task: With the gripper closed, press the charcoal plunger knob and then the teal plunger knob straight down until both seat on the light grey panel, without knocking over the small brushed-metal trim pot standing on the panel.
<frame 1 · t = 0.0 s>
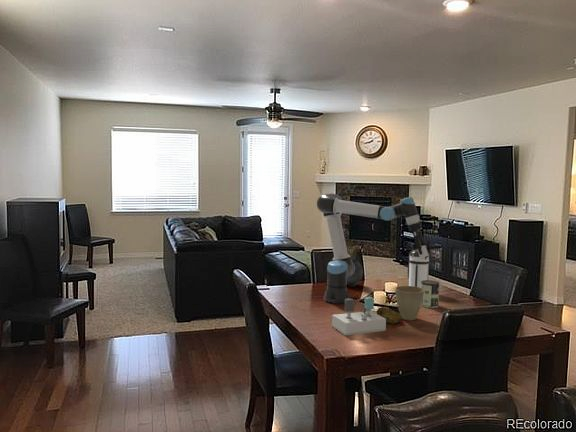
hand: (424, 258, 280), 28 cm above the table, tool tilted 20°, fingers open, 13 cm apart
knob teal: (368, 307, 237), point 10 cm above the table, slide at 4.0 cm
coffee press: (416, 291, 316), on the table
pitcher: (348, 285, 332), on the table
potato: (389, 323, 247), on the table
trim pot: (364, 319, 231), point 6 cm above the table, touching panel
knob charcoal: (349, 309, 233), point 10 cm above the table, slide at 4.0 cm
plant pot: (408, 318, 255), on the table
coffee can: (429, 306, 281), on the table
panel: (358, 328, 236), on the table
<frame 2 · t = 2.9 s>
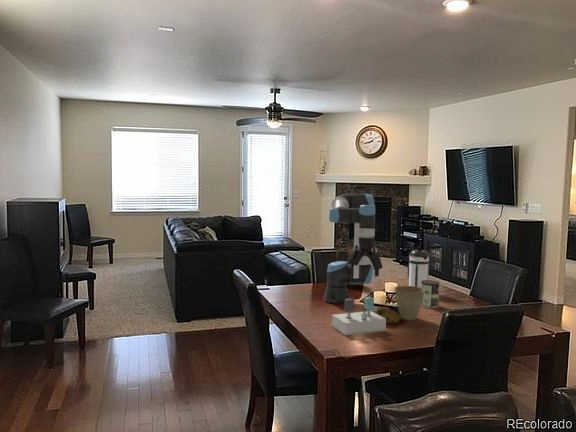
hand: (365, 280, 233), 24 cm above the table, tool pointing down, fingers open, 13 cm apart
nothing on the table moved.
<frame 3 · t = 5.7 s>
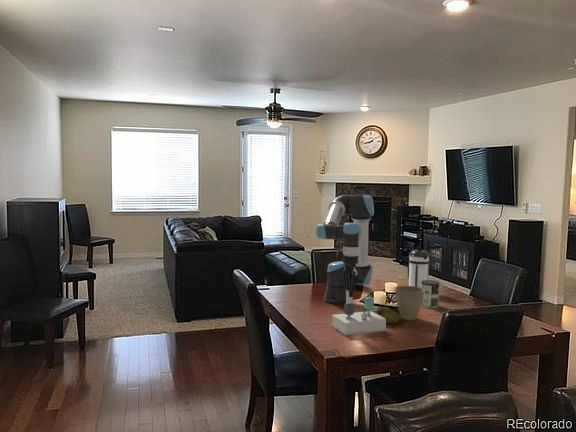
hand: (349, 303, 233), 13 cm above the table, tool pointing down, fingers closed
knob charcoal: (349, 313, 234), point 8 cm above the table, slide at 2.0 cm, touching gripper
everything else where it was.
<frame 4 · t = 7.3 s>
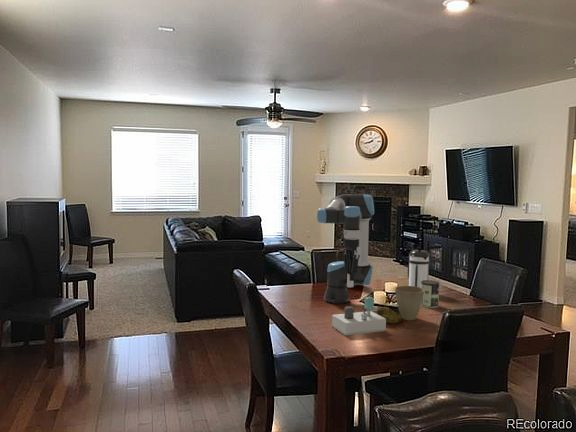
hand: (350, 286, 233), 21 cm above the table, tool pointing down, fingers closed
knob charcoal: (348, 317, 234), point 6 cm above the table, slide at 0.0 cm, touching panel
everything else where it was.
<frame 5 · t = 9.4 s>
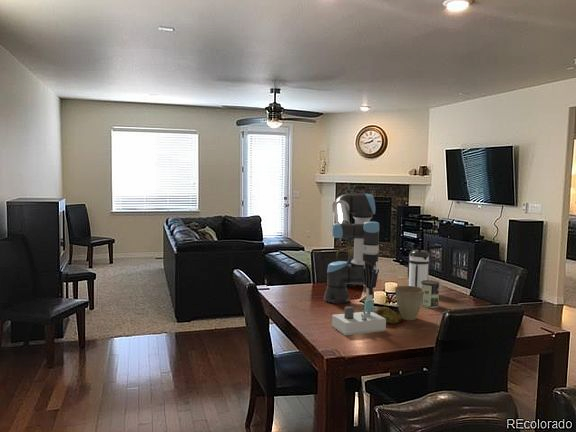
hand: (369, 300, 237), 14 cm above the table, tool pointing down, fingers closed
knob teal: (368, 311, 238), point 8 cm above the table, slide at 2.4 cm, touching gripper
everything else where it was.
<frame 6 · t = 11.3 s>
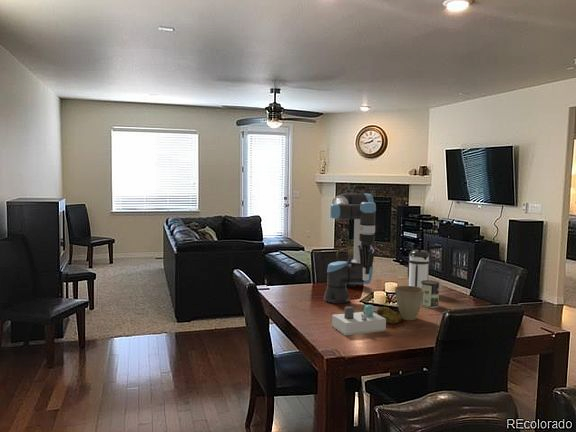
hand: (365, 280, 241), 23 cm above the table, tool pointing down, fingers closed
knob teal: (368, 315, 238), point 6 cm above the table, slide at 0.0 cm, touching panel
everything else where it was.
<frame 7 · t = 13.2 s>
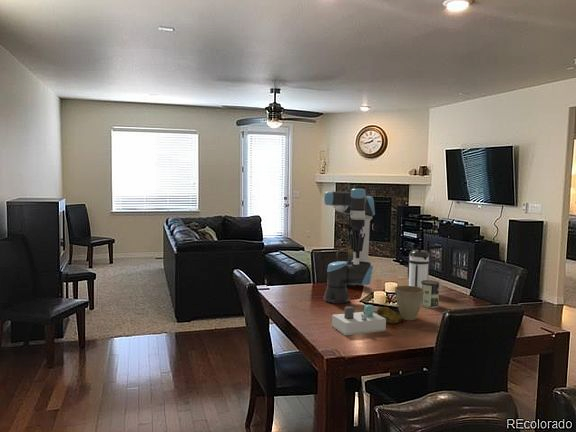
hand: (356, 264, 249), 29 cm above the table, tool pointing down, fingers closed
nothing on the table moved.
at the end: knob charcoal slide at 0.0 cm; knob teal slide at 0.0 cm; trim pot tilted 0° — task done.
